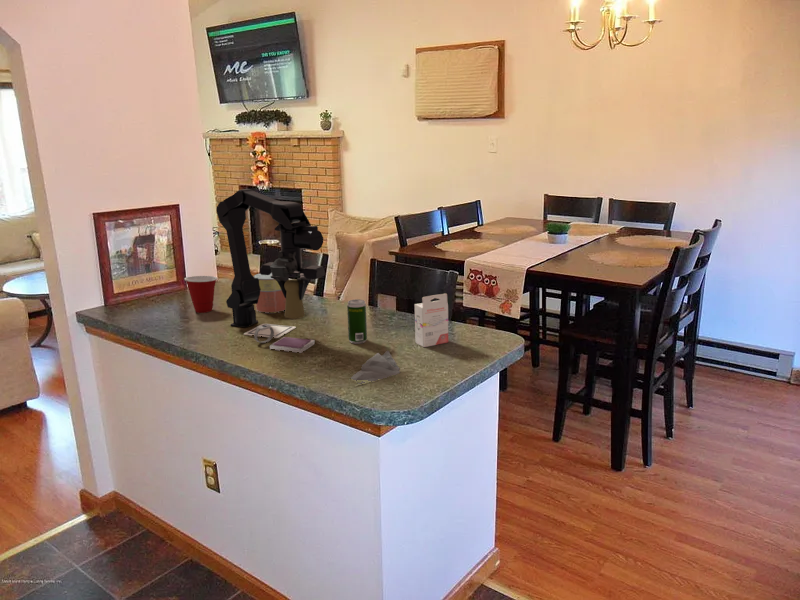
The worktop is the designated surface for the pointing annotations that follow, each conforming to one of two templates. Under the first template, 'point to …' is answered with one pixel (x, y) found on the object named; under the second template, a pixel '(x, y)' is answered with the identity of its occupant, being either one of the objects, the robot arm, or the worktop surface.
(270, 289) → the canned food
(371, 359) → the cloth
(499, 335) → the worktop surface
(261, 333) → the marked card
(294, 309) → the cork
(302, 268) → the robot arm
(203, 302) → the plastic cup
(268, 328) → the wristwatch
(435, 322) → the ink cartridge box
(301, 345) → the ink pad
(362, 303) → the green drink can
